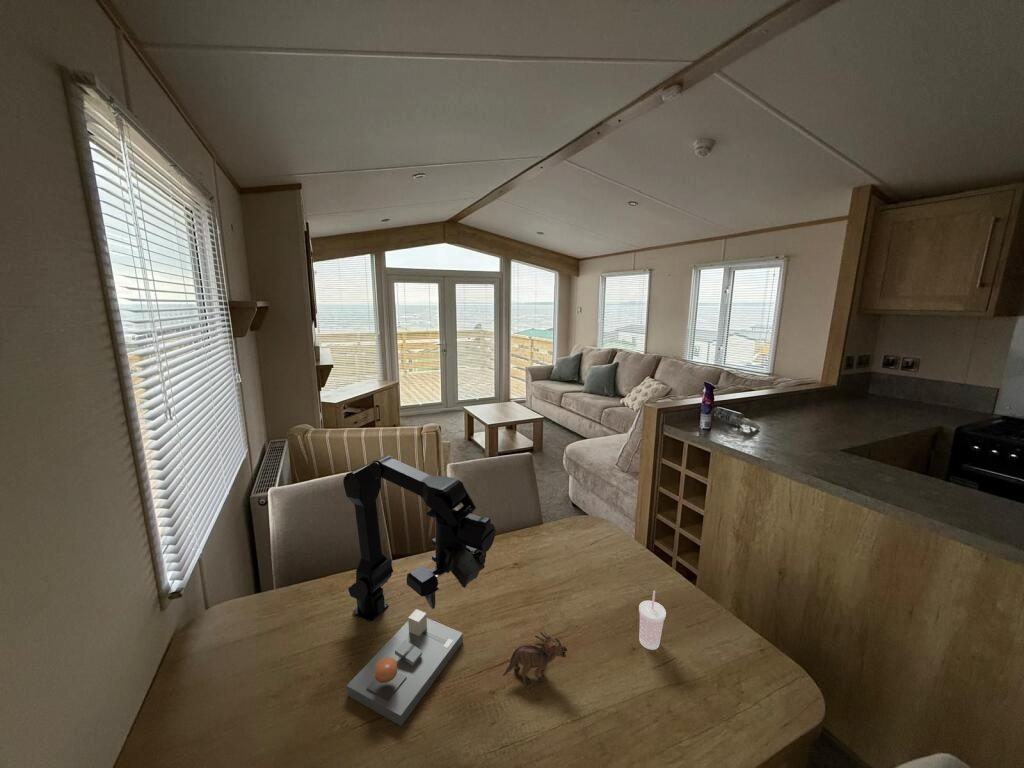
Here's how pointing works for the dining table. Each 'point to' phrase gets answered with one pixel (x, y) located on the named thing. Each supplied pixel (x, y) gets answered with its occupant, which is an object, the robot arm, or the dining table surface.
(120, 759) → the dining table surface
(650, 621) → the beverage cup
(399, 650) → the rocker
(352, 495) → the robot arm
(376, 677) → the push button
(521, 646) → the dinosaur figurine
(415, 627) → the off-white cube
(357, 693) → the switch console
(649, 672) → the dining table surface
